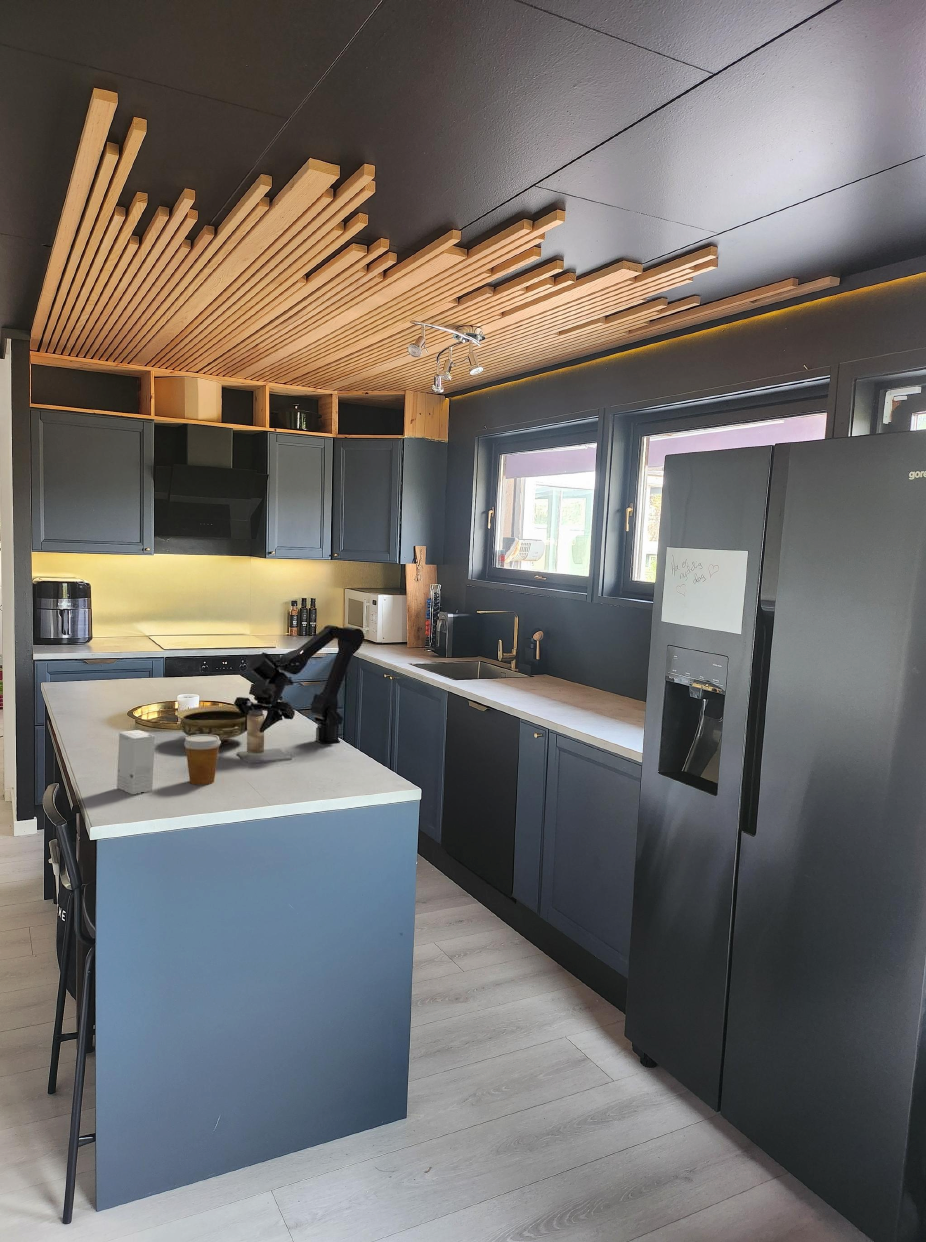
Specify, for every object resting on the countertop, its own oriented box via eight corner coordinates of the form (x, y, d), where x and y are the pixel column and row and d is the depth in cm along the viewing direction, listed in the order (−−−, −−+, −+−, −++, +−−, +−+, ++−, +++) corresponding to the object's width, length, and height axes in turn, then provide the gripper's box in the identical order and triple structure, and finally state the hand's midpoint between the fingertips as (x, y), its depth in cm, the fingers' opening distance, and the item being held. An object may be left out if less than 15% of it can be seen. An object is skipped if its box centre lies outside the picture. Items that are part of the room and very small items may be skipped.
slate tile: (278, 750, 263) (278, 748, 263) (291, 759, 252) (291, 757, 252) (237, 753, 256) (237, 751, 256) (248, 763, 245) (248, 761, 245)
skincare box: (116, 788, 216) (116, 731, 215) (138, 784, 221) (138, 728, 220) (132, 795, 211) (133, 737, 210) (155, 790, 216) (155, 734, 214)
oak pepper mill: (262, 749, 255) (263, 708, 254) (264, 753, 251) (265, 712, 249) (246, 750, 254) (246, 709, 252) (247, 754, 249) (248, 712, 248)
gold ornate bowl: (163, 737, 274) (163, 707, 273) (234, 730, 288) (234, 701, 288) (194, 757, 250) (194, 724, 249) (269, 748, 264) (270, 717, 263)
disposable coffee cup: (227, 779, 228) (228, 736, 227) (206, 788, 219) (206, 743, 218) (198, 775, 231) (198, 732, 230) (175, 783, 222) (176, 739, 221)
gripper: (237, 670, 257) (215, 712, 247) (290, 675, 250) (269, 718, 241) (252, 692, 265) (230, 733, 256) (303, 697, 259) (283, 740, 249)
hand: (252, 731), depth 250 cm, fingers closed on oak pepper mill, 5 cm apart
